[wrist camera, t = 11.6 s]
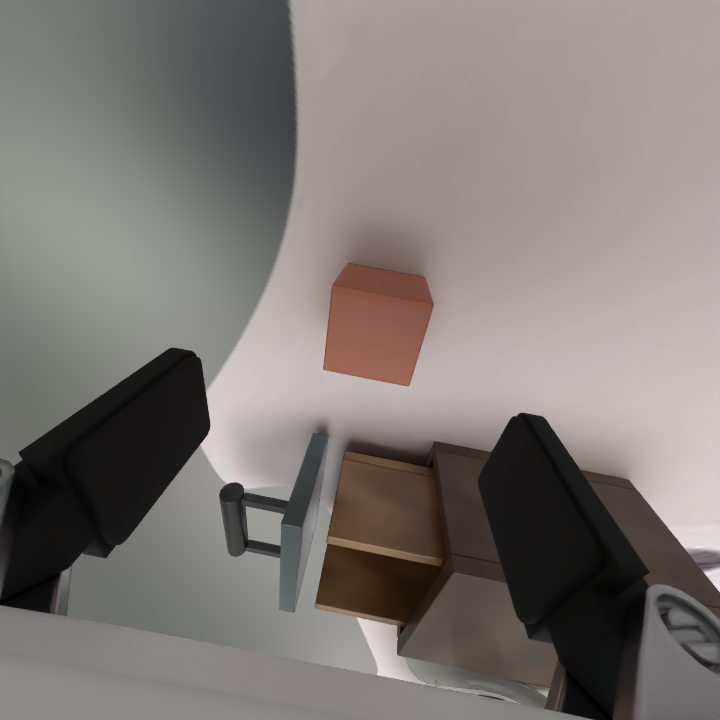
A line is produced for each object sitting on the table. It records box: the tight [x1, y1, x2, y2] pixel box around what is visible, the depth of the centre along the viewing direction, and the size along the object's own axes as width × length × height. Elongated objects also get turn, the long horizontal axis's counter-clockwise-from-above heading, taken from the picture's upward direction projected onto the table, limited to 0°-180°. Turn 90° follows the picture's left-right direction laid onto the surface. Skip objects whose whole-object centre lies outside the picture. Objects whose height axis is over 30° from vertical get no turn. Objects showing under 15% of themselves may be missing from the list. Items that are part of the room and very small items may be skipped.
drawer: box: [219, 433, 446, 627], centre depth 21 cm, size 19×12×7 cm, turn 81°
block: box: [323, 263, 434, 386], centre depth 15 cm, size 4×4×4 cm
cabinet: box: [397, 442, 720, 688], centre depth 21 cm, size 15×13×9 cm
